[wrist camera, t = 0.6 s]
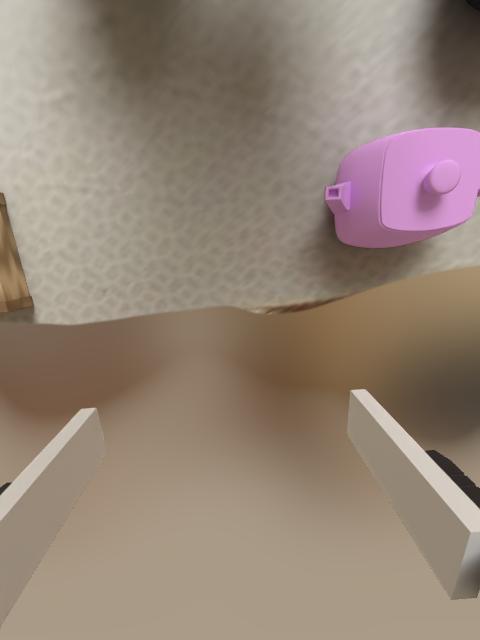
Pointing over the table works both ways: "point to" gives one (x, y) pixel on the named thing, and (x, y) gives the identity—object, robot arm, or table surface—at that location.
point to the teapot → (406, 187)
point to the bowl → (474, 3)
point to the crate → (10, 268)
